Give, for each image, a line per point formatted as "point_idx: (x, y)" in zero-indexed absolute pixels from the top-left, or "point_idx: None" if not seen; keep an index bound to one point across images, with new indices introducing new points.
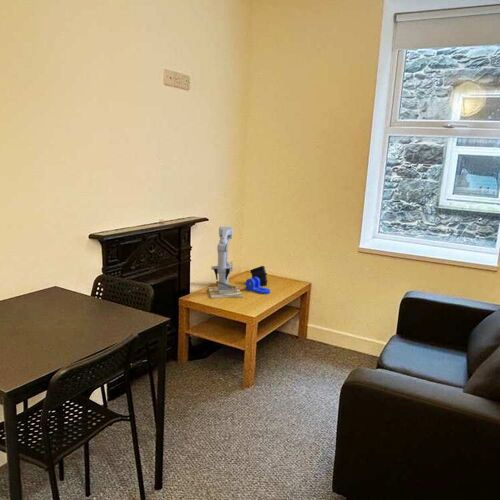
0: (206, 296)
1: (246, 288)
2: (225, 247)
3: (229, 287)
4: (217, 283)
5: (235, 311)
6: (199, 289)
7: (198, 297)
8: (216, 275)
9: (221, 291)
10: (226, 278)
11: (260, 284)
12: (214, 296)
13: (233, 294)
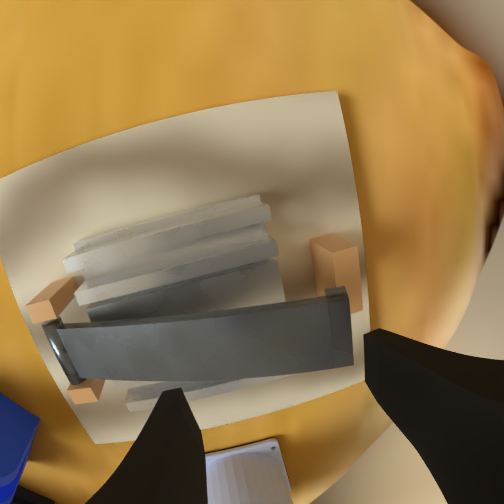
0: (378, 154)
1: (26, 421)
2: None
3: None
4: (330, 292)
5: None
6: (427, 340)
7: (433, 123)
8: (451, 358)
9: (229, 209)
10: (162, 403)
11: None
12: (301, 99)
13: (75, 218)
